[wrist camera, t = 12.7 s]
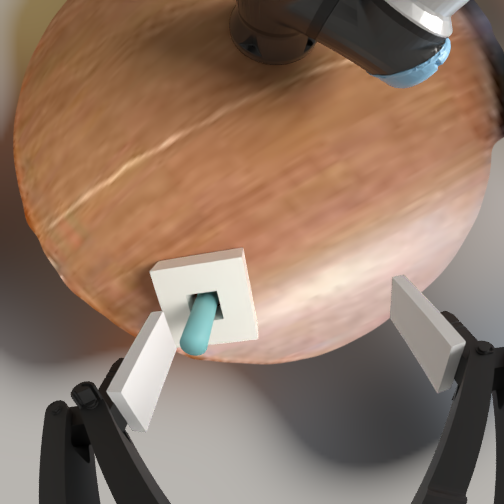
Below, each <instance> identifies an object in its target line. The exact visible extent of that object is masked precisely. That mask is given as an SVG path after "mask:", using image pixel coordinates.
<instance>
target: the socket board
mask: <svg viewBox="0 0 504 504" xmlns="http://www.w3.org/2000/svg"><path fill="white" fill-rule="evenodd" d="M150 275H151V278H152V281H153V285H154V288H155V291H156V294H157V297H158V300H159V303H160V306H161V309H162V311H163V312H164V315H165V318H166V321H167V324H168V326H169V329H170V332H171V335H172V337H173V340H174V343H175V345H176V348H177V347H180V338H181V336H182V333H183V330H184V328H185V325H186V323H187V320H188V318H189V315H190V312H191V310H192V307H193V305H194V302H195V300H196V299H195V296H194V294H197V293H205V292H212V291H217V293H218V297H219V301H220V306H218V307H217V309H216V313H215V317H214V321H213V325H212V329H211V334H210V338H209V342H208V345H212V344H221V343H230V342H239V341H247V340H255V339H258V322H257V317H256V312H255V307H254V302H253V296H252V291H251V286H250V281H249V276H248V270H247V265H246V260H245V255H244V250H243V247H242V248H236V249H230V250H224V251H218V252H212V253H205V254H199V255H193V256H187V257H181V258H175V259H169V260H163V261H158V262H157V263H156V264H155V266H154V267H153V268H152V269H151V270H150Z"/></svg>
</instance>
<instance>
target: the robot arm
mask: <svg viewBox="0 0 504 504" xmlns="http://www.w3.org/2000/svg"><path fill="white" fill-rule="evenodd" d="M236 1H237V5H236V7H235V8H234V10H233V12H232V14H231V17H230V22H229V28H230V33H231V37H232V40H233V42H234V44H235V45H236V47H237V48H238V49H239V50H240V51H241V52H242V53H243V54H245V55H246V56H248V57H249V58H251V59H253V60H255V61H258V62H261V63H265V64H273V65H280V64H288V63H292V62H295V61H297V60H300V59H301V58H303V57H305V56H306V55H307V54H308V53H309V52H310V51H311V50H312V49H313V47H314V46H315V44H316V42H319V43H321V44H323V45H325V46H326V47H328V48H330V49H332V50H333V51H335V52H337V53H339V54H340V55H342V56H344V57H345V58H347V59H349V60H350V61H352V62H353V63H355V64H357V65H358V66H360V67H361V68H363V69H364V70H366V72H367V73H369V74H370V75H372V76H374V77H377V78H379V79H380V80H382V81H383V82H385V83H387V84H388V85H390V86H392V87H395V88H409V87H412V86H415V85H417V84H419V83H421V82H423V81H424V80H426V79H427V78H429V77H430V76H431V75H433V74H434V73H435V72H436V71H437V70H438V69H437V67H438V66H439V65H441V64H443V63H444V62H445V60H446V59H447V57H448V55H449V52H450V48H451V45H450V40H449V39H448V37H449V36H450V35H451V34H452V31H453V30H452V23H451V16H452V15H453V14H454V13H455V12H456V11H457V10H458V9H460V8H461V7H462V6H463V5H464V4H465V3H467V2H468V1H469V0H236ZM390 319H391V320H392V322H393V323H394V325H395V326H396V328H397V329H398V331H399V332H400V334H401V335H402V337H403V338H404V340H405V341H406V343H407V345H408V346H409V348H410V349H411V351H412V352H413V354H414V356H415V357H416V359H417V360H418V362H419V363H420V365H421V367H422V368H423V370H424V372H425V373H426V375H427V377H428V378H429V380H430V382H431V383H432V385H433V387H434V388H435V390H436V392H437V393H440V392H442V391H445V390H447V389H450V388H451V386H452V384H453V381H454V379H455V381H456V382H457V384H458V385H457V388H456V391H455V393H454V396H453V398H452V400H453V402H452V405H451V409H450V412H449V415H448V418H447V421H446V424H445V427H444V430H443V433H442V436H441V438H440V441H439V444H438V446H437V449H436V451H435V454H434V456H433V459H432V461H431V463H430V466H429V468H428V470H427V472H426V475H425V477H424V479H423V481H422V483H421V485H420V487H419V489H418V491H417V493H416V495H415V497H414V499H413V501H412V502H411V504H466V503H467V497H466V492H467V489H468V486H469V483H470V480H471V478H472V475H473V472H474V468H475V465H476V461H477V458H478V455H479V451H480V447H481V444H482V440H483V435H484V431H485V426H486V422H487V417H488V412H489V406H490V400H491V393H492V396H493V405H494V415H495V429H496V483H495V497H494V504H504V347H500V348H494V346H493V345H492V344H490V343H489V342H486V341H477V339H476V338H475V337H474V336H473V335H472V334H471V333H470V332H469V331H468V330H467V328H466V327H464V326H463V324H462V323H461V322H459V320H458V319H457V318H456V317H455V316H454V315H453V314H451V313H449V312H447V311H443V312H439V311H438V310H437V309H436V308H435V307H434V305H432V303H431V302H430V301H429V300H428V299H427V298H426V297H425V296H424V295H423V294H422V293H421V292H420V291H419V290H418V289H417V288H416V287H415V286H414V285H413V284H412V283H411V282H410V281H409V280H408V279H407V278H406V277H405V276H404V275H400V276H395V277H392V292H391V309H390ZM176 349H177V348H176V345H175V343H174V340H173V337H172V335H171V332H170V329H169V326H168V324H167V321H166V318H165V315H164V312H163V311H157V312H151V313H150V315H149V317H148V318H147V320H146V322H145V324H144V325H143V327H142V329H141V330H140V332H139V334H138V335H137V337H136V339H135V341H134V343H133V344H132V346H131V348H130V349H129V351H128V353H127V355H126V357H125V358H119V360H117V361H116V362H115V363H114V364H113V365H112V367H111V369H110V370H109V372H108V374H107V375H106V378H105V379H104V381H103V383H102V384H101V386H100V388H99V390H98V389H97V388H96V386H95V384H94V383H92V382H89V381H88V382H82V383H80V384H78V385H76V386H75V387H74V388H73V390H72V392H71V397H72V399H73V400H74V402H75V403H76V404H77V406H75V407H68V406H67V404H66V403H65V402H64V401H61V400H60V401H55V402H53V403H51V404H50V405H49V406H48V407H47V409H46V412H45V418H44V426H43V435H42V445H41V456H40V473H39V504H100V498H99V492H98V485H97V476H96V467H95V456H96V458H97V461H98V463H99V466H100V468H101V470H102V473H103V475H104V478H105V480H106V482H107V484H108V486H109V489H110V491H111V493H112V495H113V497H114V499H115V501H116V503H117V504H171V503H170V502H169V500H168V499H167V497H166V496H165V495H164V493H163V492H162V490H161V489H160V487H159V486H158V484H157V483H156V481H155V480H154V478H153V476H152V475H151V473H150V472H149V470H148V468H147V467H146V465H145V463H144V462H143V460H142V458H141V457H140V455H139V453H138V452H137V449H136V448H135V446H134V444H133V442H132V440H131V439H130V437H129V435H128V433H127V432H126V430H125V427H126V425H127V424H128V425H129V427H130V428H131V429H132V431H139V432H147V430H148V427H149V424H150V421H151V418H152V415H153V412H154V409H155V407H156V404H157V401H158V398H159V395H160V393H161V390H162V387H163V384H164V381H165V379H166V376H167V373H168V370H169V368H170V365H171V362H172V359H173V357H174V354H175V352H176ZM94 453H95V456H94Z"/></svg>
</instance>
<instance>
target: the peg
mask: <svg viewBox="0 0 504 504" xmlns="http://www.w3.org/2000/svg"><path fill="white" fill-rule="evenodd" d="M218 301H219V297H218V293H217V291H212V292H205V293H198V295H197V297H196V300H195V302H194V305H193V307H192V310H191V312H190V315H189V318H188V320H187V323H186V325H185V328H184V330H183V333H182V336H181V338H180V347H181V348H182V350H183V351H184V352H186V353H188V354H190V355H195V356H196V355H201V354H203V353H204V352H205V351H206V350H207V346H208V342H209V338H210V334H211V329H212V325H213V321H214V317H215V313H216V309H217V305H218Z"/></svg>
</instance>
